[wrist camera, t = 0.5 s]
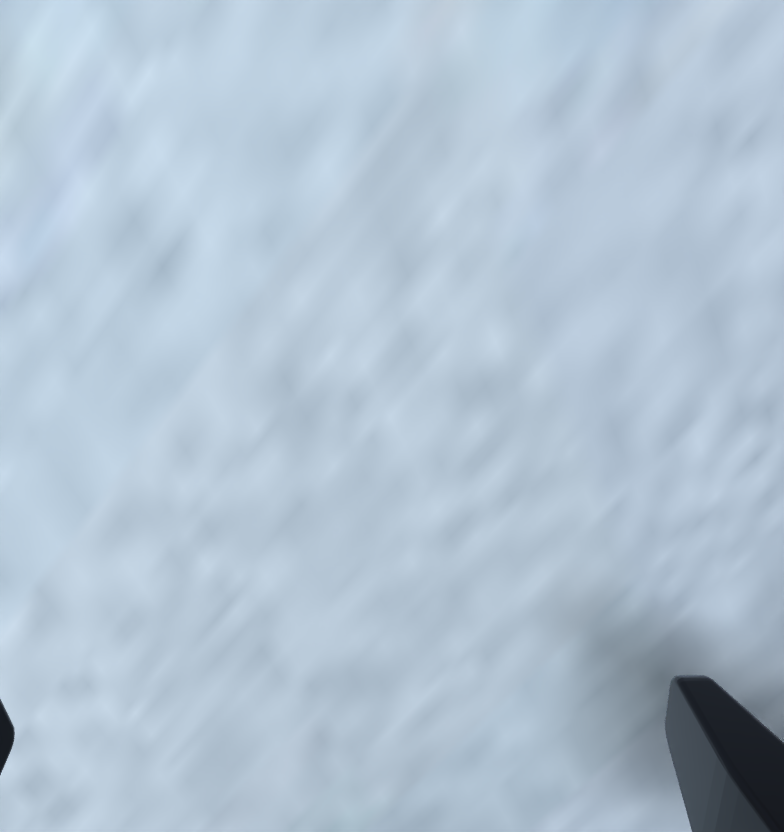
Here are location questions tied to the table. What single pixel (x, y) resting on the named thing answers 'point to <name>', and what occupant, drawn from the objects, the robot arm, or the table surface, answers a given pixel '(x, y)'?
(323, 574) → the table surface
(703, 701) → the robot arm
